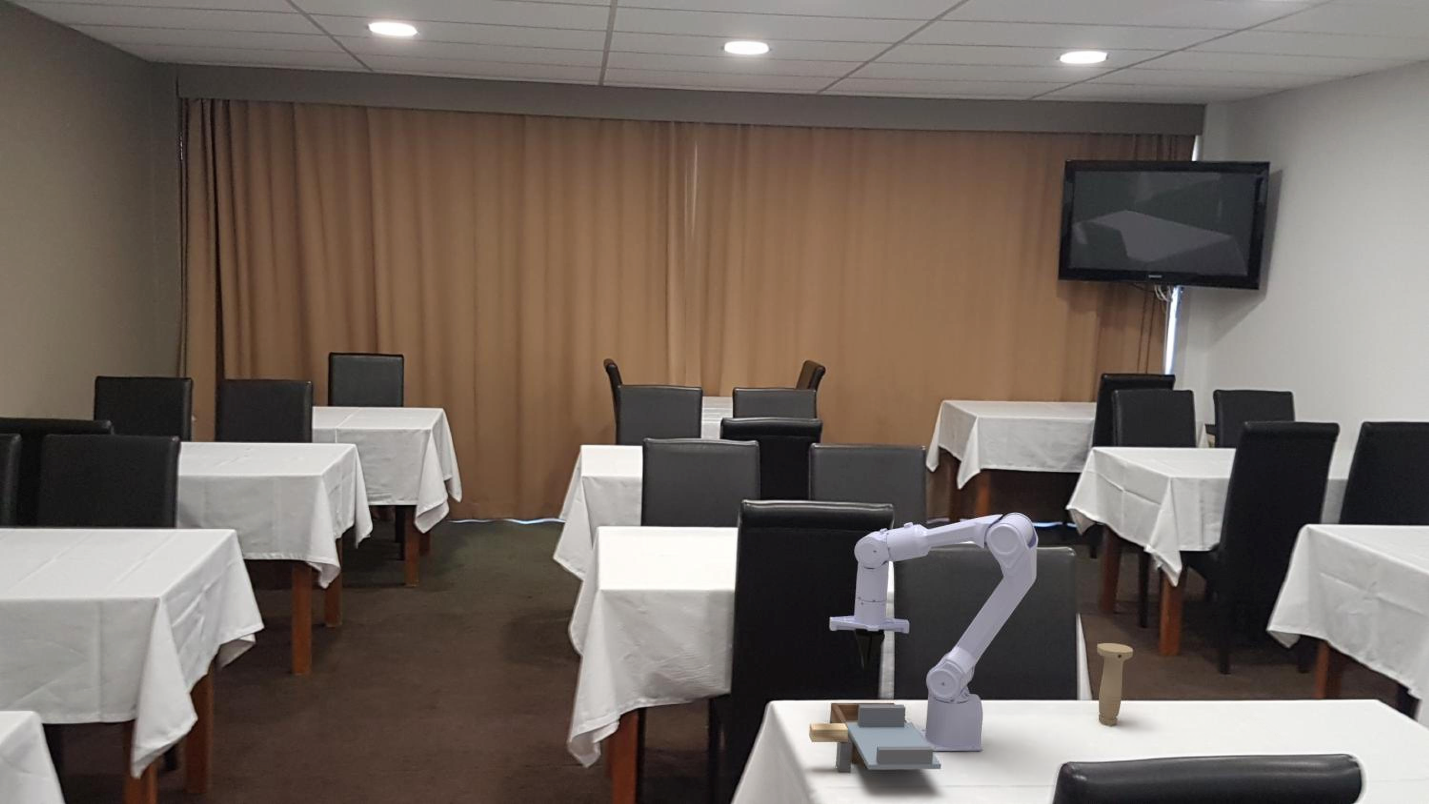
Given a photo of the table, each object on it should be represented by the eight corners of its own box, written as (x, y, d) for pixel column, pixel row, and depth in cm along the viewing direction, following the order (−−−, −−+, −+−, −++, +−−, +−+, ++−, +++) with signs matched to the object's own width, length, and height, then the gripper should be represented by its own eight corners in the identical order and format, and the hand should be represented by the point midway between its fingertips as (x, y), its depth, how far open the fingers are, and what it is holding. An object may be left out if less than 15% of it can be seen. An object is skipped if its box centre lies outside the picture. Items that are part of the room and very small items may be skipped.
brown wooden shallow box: (892, 723, 202) (894, 702, 202) (918, 762, 186) (919, 740, 186) (829, 723, 201) (831, 702, 200) (850, 763, 185) (851, 740, 185)
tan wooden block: (843, 735, 183) (844, 723, 183) (847, 741, 181) (848, 729, 181) (809, 735, 182) (809, 723, 182) (812, 742, 180) (812, 729, 180)
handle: (1129, 728, 205) (1137, 652, 203) (1095, 727, 205) (1103, 651, 203) (1119, 718, 210) (1126, 643, 208) (1086, 716, 210) (1093, 642, 208)
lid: (911, 726, 191) (913, 703, 190) (940, 768, 175) (942, 743, 175) (845, 726, 189) (846, 703, 189) (868, 769, 174) (870, 743, 173)
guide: (847, 765, 184) (849, 736, 183) (850, 772, 182) (852, 743, 181) (835, 765, 184) (837, 736, 183) (838, 772, 181) (840, 743, 181)
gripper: (835, 602, 195) (830, 674, 197) (914, 605, 196) (909, 677, 198) (829, 590, 202) (825, 660, 204) (906, 593, 203) (901, 663, 205)
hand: (866, 667), depth 201 cm, fingers closed
